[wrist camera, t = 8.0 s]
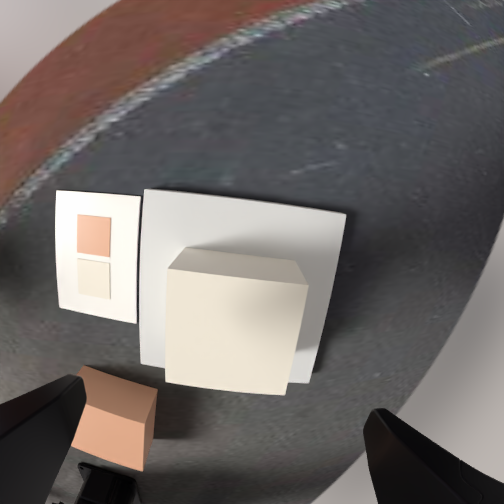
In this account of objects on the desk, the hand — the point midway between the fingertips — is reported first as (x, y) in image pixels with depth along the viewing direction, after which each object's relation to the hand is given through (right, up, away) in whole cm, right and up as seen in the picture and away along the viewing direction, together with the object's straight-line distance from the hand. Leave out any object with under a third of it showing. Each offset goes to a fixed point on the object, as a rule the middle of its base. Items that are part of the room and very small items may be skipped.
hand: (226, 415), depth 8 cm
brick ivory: (0, +2, +9) cm, 10 cm away
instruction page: (-9, +4, +10) cm, 14 cm away
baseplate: (0, +2, +10) cm, 11 cm away
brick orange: (-10, -7, +13) cm, 17 cm away
